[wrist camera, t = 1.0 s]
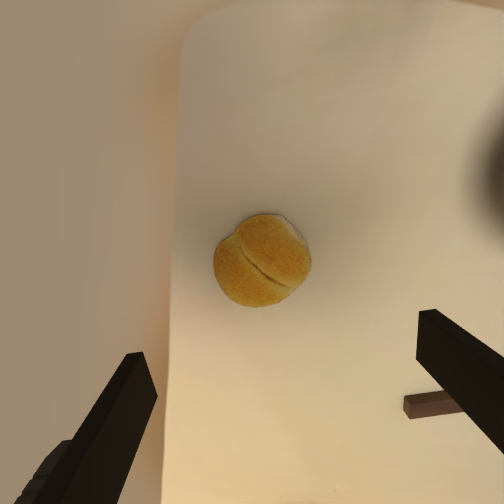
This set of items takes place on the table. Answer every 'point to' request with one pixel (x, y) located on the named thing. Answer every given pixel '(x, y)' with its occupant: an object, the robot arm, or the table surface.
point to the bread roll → (262, 261)
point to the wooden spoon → (430, 405)
